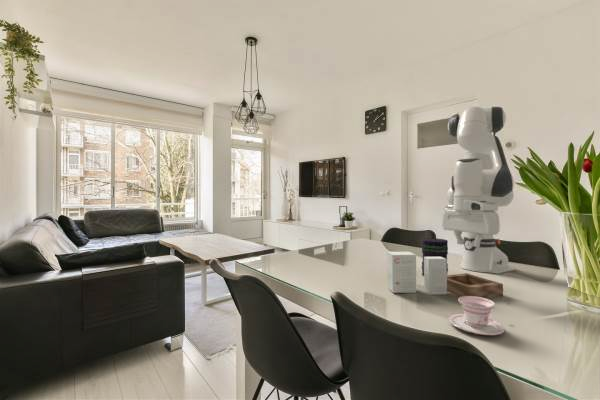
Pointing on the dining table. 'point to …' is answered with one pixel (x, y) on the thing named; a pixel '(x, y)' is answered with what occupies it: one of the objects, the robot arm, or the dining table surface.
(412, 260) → the small box
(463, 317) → the teacup
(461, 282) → the wooden tray
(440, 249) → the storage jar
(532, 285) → the dining table surface
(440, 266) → the skincare box
